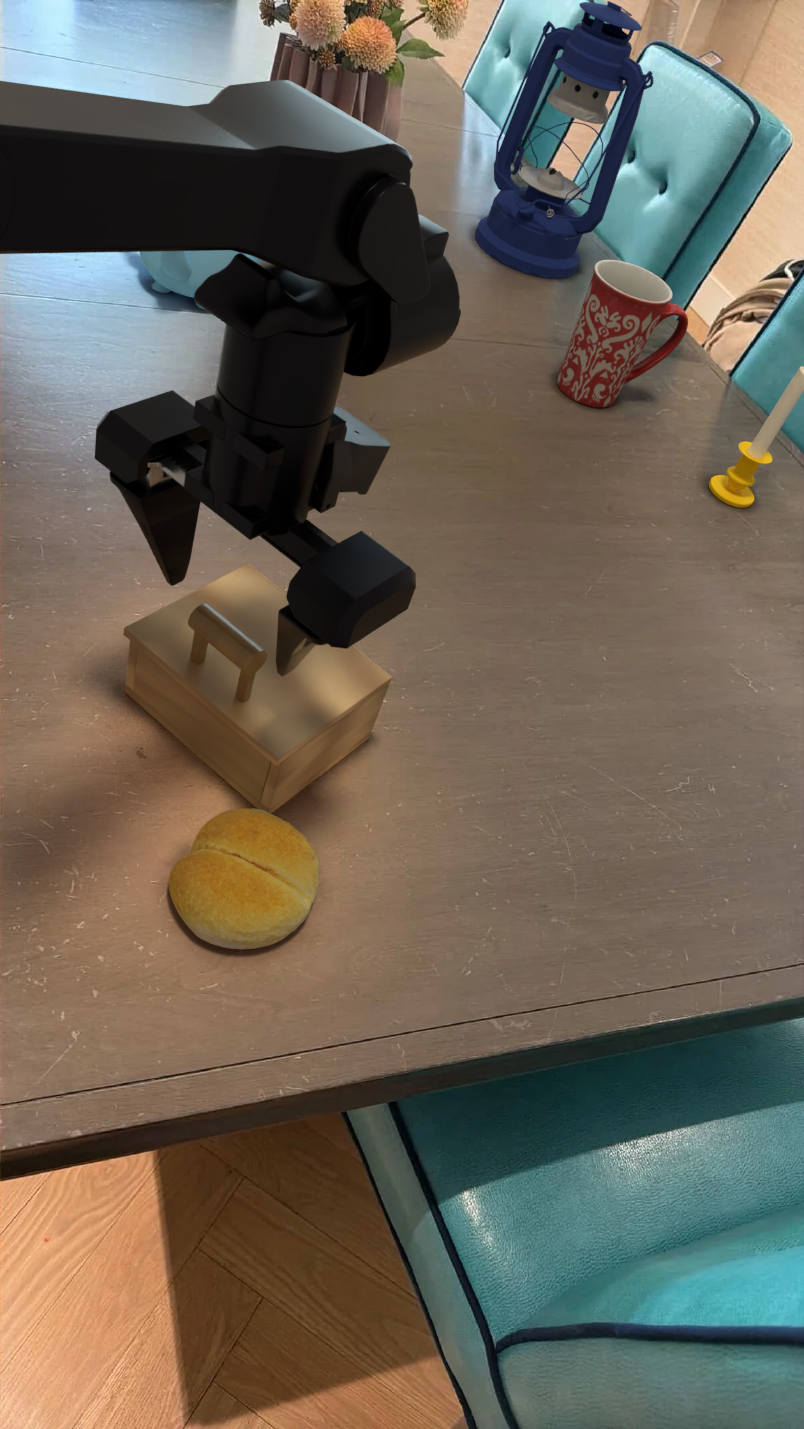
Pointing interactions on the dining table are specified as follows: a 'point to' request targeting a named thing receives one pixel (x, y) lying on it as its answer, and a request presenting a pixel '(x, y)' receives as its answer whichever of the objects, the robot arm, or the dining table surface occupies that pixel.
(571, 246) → the lantern
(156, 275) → the teapot
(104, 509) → the dining table surface
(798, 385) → the candle
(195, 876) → the bread roll
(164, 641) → the box door
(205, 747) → the storage box
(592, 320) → the mug
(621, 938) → the dining table surface
